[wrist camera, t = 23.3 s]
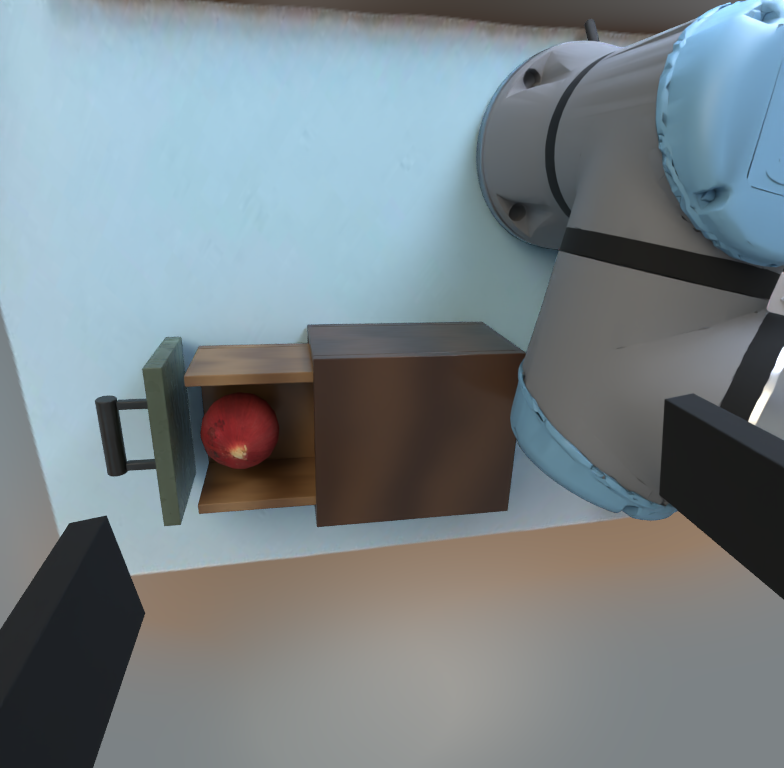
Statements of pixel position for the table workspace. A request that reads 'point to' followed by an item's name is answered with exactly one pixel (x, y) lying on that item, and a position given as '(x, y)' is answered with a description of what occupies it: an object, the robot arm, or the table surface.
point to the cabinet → (411, 420)
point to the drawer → (172, 416)
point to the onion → (239, 430)
